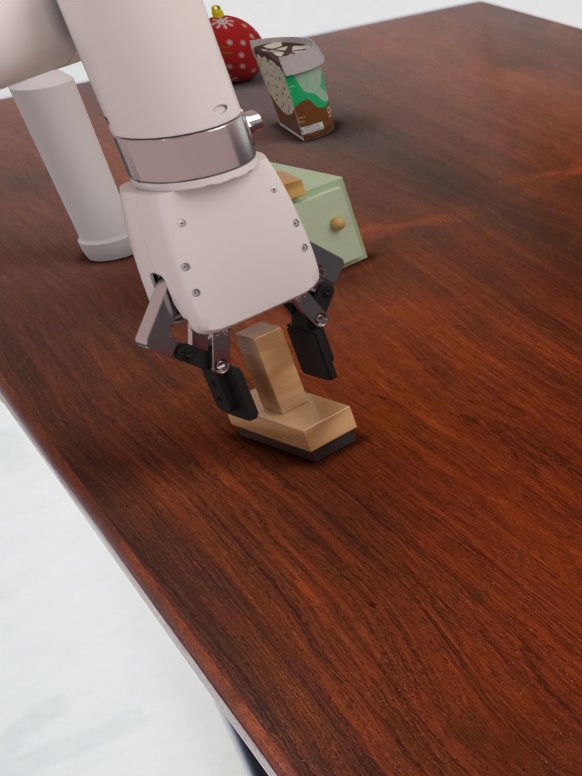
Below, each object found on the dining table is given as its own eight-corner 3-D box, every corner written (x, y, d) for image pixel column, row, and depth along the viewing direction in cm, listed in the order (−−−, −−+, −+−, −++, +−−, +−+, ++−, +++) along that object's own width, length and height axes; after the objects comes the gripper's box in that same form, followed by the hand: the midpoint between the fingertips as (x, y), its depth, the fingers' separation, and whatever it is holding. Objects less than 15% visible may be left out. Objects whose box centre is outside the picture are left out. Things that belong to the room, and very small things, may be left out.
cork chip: (263, 208, 113) (257, 191, 112) (242, 198, 115) (236, 182, 114) (307, 194, 115) (301, 178, 115) (286, 185, 118) (280, 169, 117)
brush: (315, 464, 92) (273, 354, 87) (236, 436, 96) (191, 329, 91) (361, 438, 95) (323, 330, 90) (282, 412, 99) (242, 307, 94)
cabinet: (249, 317, 113) (216, 231, 109) (156, 290, 119) (121, 207, 114) (378, 260, 123) (353, 178, 119) (287, 237, 129) (259, 159, 124)
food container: (359, 132, 157) (334, 47, 151) (308, 143, 154) (280, 58, 148) (325, 111, 165) (300, 30, 159) (275, 122, 162) (248, 39, 156)
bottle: (156, 243, 129) (46, -22, 115) (115, 263, 125) (-4, -9, 110) (113, 240, 130) (-1, -23, 116) (72, 260, 126) (-51, -10, 112)
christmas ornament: (193, 88, 176) (164, 12, 170) (235, 71, 183) (209, -3, 177) (246, 90, 174) (220, 13, 169) (287, 72, 181) (263, -2, 176)
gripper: (268, 106, 91) (346, 337, 101) (20, 184, 78) (138, 438, 89) (338, 119, 88) (412, 356, 98) (92, 202, 75) (206, 463, 86)
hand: (281, 393), depth 93 cm, fingers open, 5 cm apart
